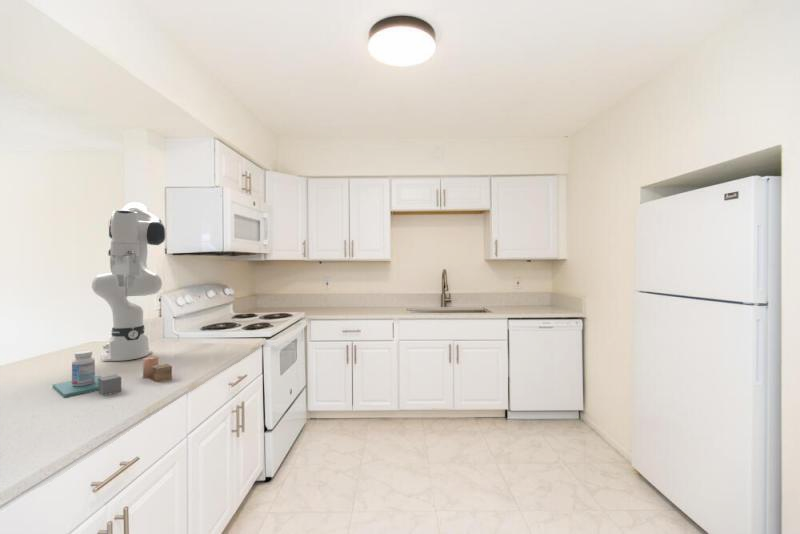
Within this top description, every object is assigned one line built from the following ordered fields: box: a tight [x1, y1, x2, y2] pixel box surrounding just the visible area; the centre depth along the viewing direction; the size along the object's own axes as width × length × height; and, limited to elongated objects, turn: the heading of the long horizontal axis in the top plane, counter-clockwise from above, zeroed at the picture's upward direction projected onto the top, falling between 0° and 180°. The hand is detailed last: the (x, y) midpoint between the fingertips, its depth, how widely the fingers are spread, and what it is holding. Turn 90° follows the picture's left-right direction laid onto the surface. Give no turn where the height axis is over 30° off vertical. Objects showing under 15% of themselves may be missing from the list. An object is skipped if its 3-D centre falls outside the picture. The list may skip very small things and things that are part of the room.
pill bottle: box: [71, 350, 96, 386], centre depth 128 cm, size 6×6×11 cm
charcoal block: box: [97, 373, 122, 396], centre depth 123 cm, size 5×5×5 cm
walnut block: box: [150, 363, 173, 383], centre depth 137 cm, size 5×5×5 cm
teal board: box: [52, 374, 103, 398], centre depth 128 cm, size 16×13×1 cm
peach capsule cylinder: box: [142, 356, 160, 379], centre depth 140 cm, size 5×5×7 cm
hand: (125, 287), depth 142 cm, fingers open, 8 cm apart
